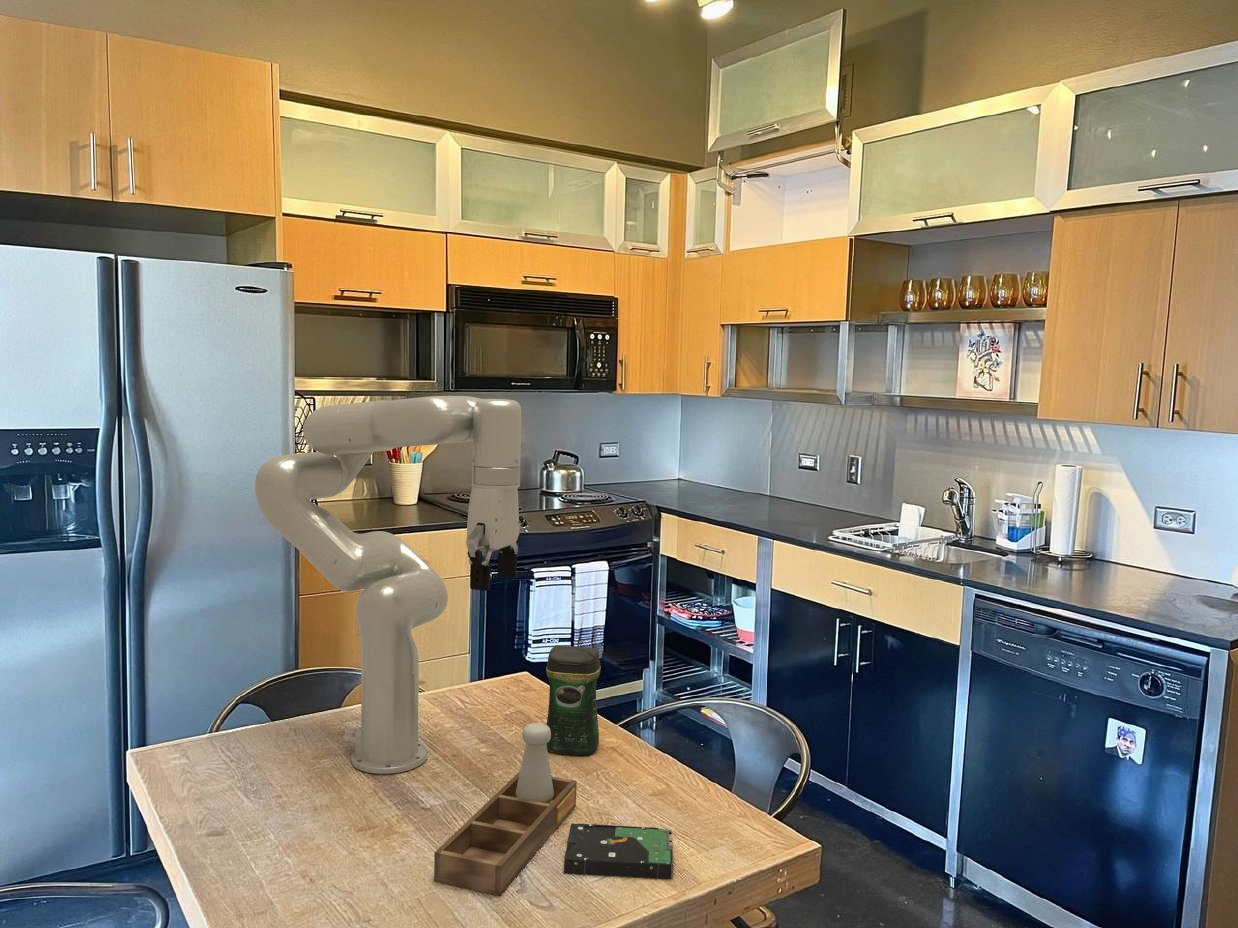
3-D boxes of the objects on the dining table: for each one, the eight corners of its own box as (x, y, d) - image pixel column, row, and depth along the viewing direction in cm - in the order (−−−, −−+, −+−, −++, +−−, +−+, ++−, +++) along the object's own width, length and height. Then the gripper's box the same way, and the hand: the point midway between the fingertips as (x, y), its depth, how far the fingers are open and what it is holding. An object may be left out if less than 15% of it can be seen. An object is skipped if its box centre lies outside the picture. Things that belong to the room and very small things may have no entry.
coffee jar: (601, 741, 170) (604, 643, 168) (593, 758, 162) (597, 655, 161) (550, 736, 172) (553, 639, 170) (540, 753, 164) (542, 651, 162)
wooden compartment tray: (434, 881, 122) (434, 852, 121) (519, 794, 147) (520, 770, 147) (502, 896, 119) (503, 866, 118) (577, 805, 144) (578, 781, 144)
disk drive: (563, 879, 125) (673, 882, 124) (563, 859, 124) (674, 862, 124) (569, 840, 135) (671, 844, 134) (569, 822, 135) (671, 825, 134)
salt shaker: (547, 819, 138) (549, 735, 137) (510, 814, 139) (512, 730, 138) (557, 802, 144) (560, 721, 142) (522, 797, 145) (524, 717, 144)
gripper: (498, 471, 156) (496, 571, 157) (448, 480, 139) (446, 592, 141) (539, 473, 154) (536, 575, 155) (493, 484, 137) (491, 597, 139)
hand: (493, 583), depth 148 cm, fingers open, 9 cm apart
